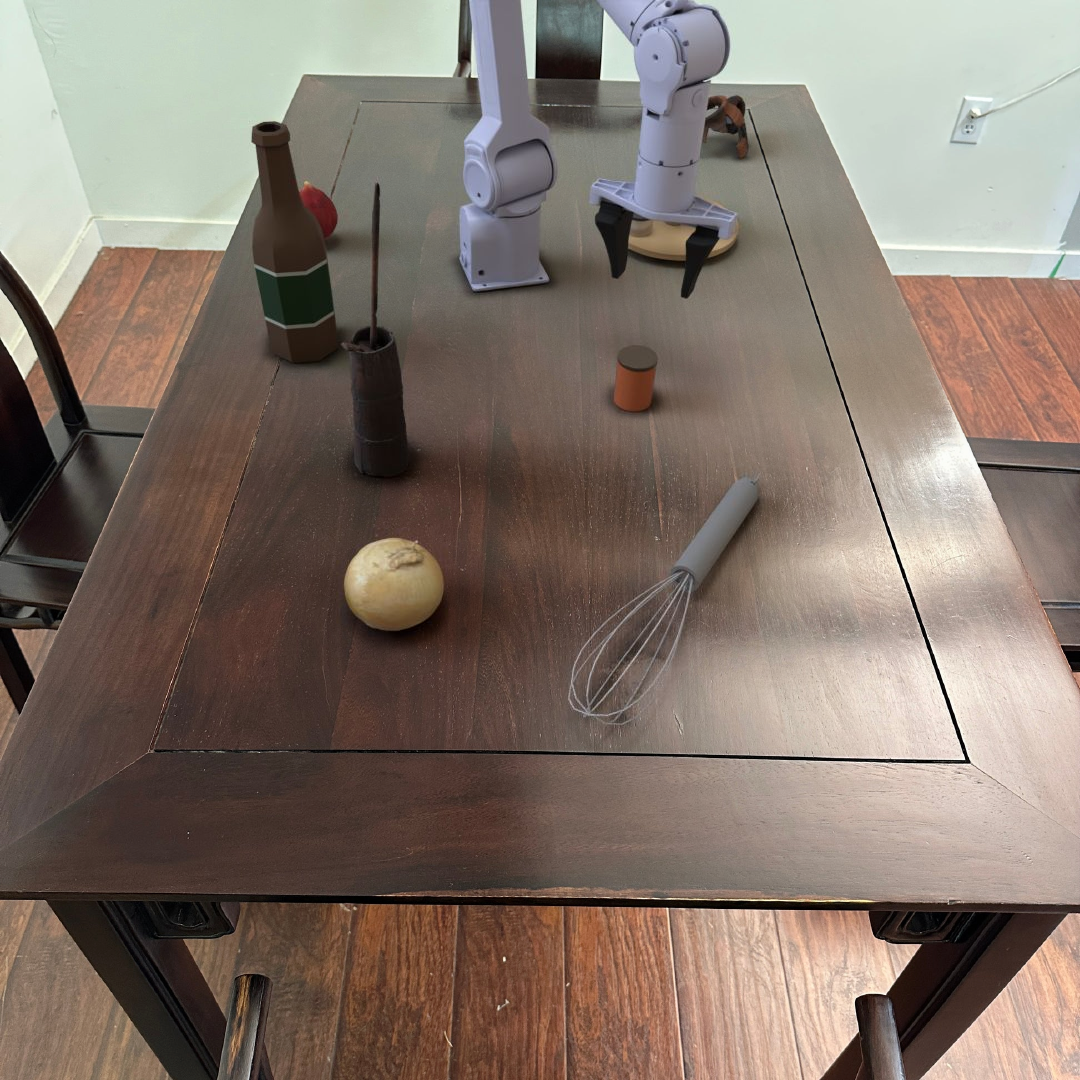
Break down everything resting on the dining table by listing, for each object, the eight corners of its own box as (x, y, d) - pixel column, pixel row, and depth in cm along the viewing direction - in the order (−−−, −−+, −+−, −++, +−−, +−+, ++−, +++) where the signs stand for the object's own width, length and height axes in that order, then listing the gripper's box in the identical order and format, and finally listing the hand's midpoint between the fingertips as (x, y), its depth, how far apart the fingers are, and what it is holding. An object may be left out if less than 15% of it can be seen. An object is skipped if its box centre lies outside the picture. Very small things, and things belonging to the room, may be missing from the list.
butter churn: (338, 510, 89) (292, 228, 69) (315, 446, 95) (266, 170, 75) (434, 487, 91) (416, 208, 71) (405, 426, 97) (382, 154, 77)
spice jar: (620, 414, 100) (625, 370, 96) (607, 391, 103) (612, 347, 99) (657, 408, 101) (664, 365, 97) (643, 385, 103) (649, 342, 100)
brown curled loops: (739, 171, 141) (718, 120, 136) (685, 181, 148) (664, 133, 143) (771, 122, 146) (752, 72, 141) (718, 134, 153) (698, 86, 148)
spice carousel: (745, 263, 120) (760, 190, 113) (609, 258, 120) (616, 184, 113) (729, 199, 132) (741, 129, 125) (605, 194, 132) (611, 124, 125)
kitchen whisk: (783, 496, 92) (798, 445, 87) (621, 761, 71) (629, 713, 67) (724, 473, 94) (735, 422, 89) (550, 724, 74) (553, 675, 69)
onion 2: (378, 660, 77) (369, 602, 72) (331, 598, 81) (320, 539, 76) (462, 616, 80) (460, 558, 75) (413, 558, 85) (408, 500, 80)
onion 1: (345, 233, 124) (338, 173, 118) (334, 256, 120) (326, 194, 114) (301, 230, 124) (291, 169, 119) (288, 252, 120) (278, 191, 115)
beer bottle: (326, 369, 104) (293, 149, 86) (258, 359, 104) (211, 138, 87) (350, 330, 109) (323, 114, 92) (285, 320, 110) (246, 105, 93)
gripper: (756, 155, 90) (731, 284, 100) (614, 122, 95) (604, 249, 104) (732, 184, 86) (708, 316, 95) (584, 149, 90) (576, 278, 100)
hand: (652, 283), depth 100 cm, fingers open, 7 cm apart
